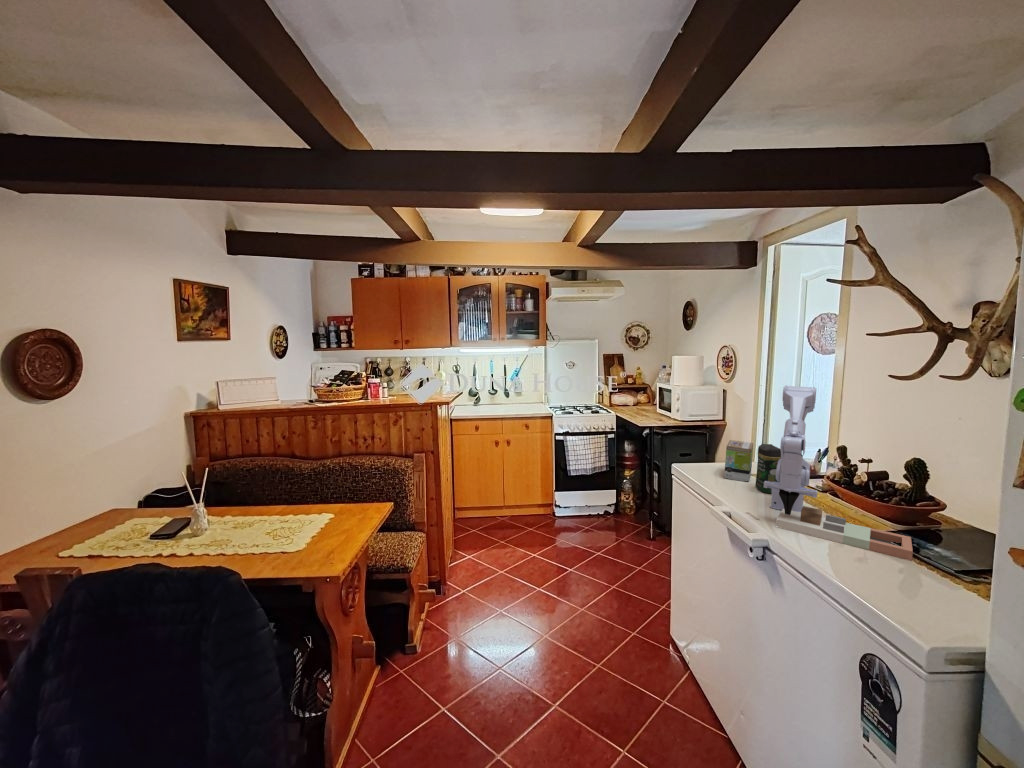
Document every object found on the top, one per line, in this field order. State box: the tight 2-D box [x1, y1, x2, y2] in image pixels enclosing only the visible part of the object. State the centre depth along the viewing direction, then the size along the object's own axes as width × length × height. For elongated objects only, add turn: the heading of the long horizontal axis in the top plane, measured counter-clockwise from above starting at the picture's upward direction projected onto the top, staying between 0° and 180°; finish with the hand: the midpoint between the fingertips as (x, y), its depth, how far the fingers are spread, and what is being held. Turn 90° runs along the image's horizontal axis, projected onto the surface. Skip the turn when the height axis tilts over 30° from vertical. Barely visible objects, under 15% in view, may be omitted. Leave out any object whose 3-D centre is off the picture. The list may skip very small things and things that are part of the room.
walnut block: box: [800, 505, 823, 526], centre depth 135 cm, size 5×5×4 cm
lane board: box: [775, 509, 914, 561], centre depth 131 cm, size 32×12×4 cm, turn 49°
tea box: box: [723, 439, 754, 482], centre depth 190 cm, size 15×10×15 cm
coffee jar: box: [755, 443, 781, 495], centre depth 171 cm, size 10×8×19 cm
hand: (787, 513), depth 140 cm, fingers closed
